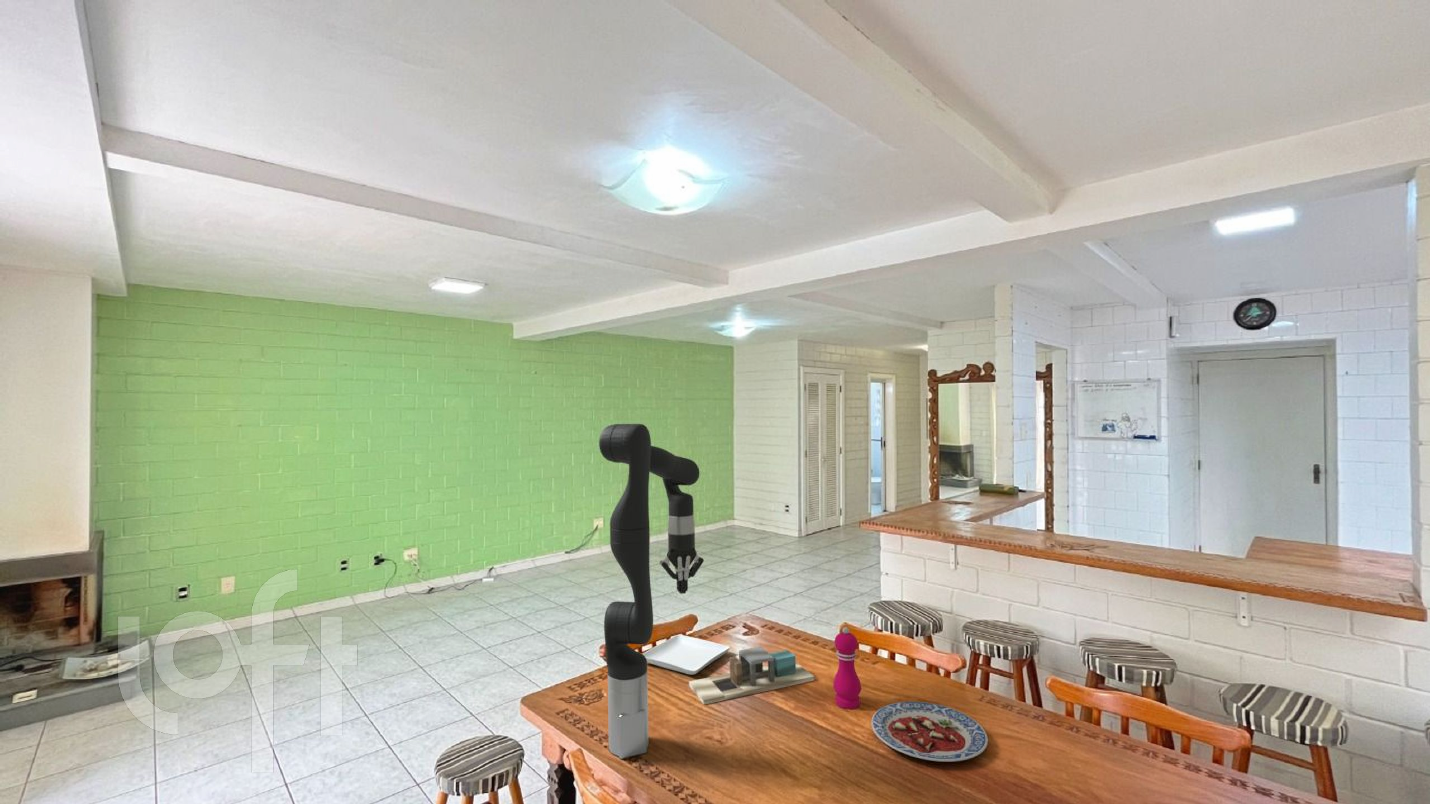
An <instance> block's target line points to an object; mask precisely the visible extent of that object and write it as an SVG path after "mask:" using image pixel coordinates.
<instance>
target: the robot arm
mask: <svg viewBox="0 0 1430 804" xmlns="http://www.w3.org/2000/svg"><path fill="white" fill-rule="evenodd" d="M598 443H599V444H598V447H599V450H600V453H601V455H602V457H603V458H605V460H607V461H608V462H611V463H618V464H626V465H628V477H627V484H626V487H625V489H624V491H623V493H622V495H621V497H620V499H619V500H618V502H617V504H616V506H615V507H614V509H613V511H612V514H611V517H610V521H609V541H610V542H609V543H610V550H611V552H612V554H613V556H614V558H615V561H616V562H617V563H618V565H619V566H620V568H621V570H622V571H623V573H624V575H625V576H626V577H627V579H628V580H627V581H629V583H630V587H631V590H632V594H633V599H634V601H612V602H611V603H610V604H609V605H608V606H607V608H606V610H605V614H604V619H603V620H604V621H603V629H604V630H603V631H604V632H603V633H604V645H605V663H606V667H607V714H608V716H607V720H608V721H607V722H608V723H607V725H608V750H609V752H610V753H611V754H613V755H615V756H616V757H617V756H618V757H619V759H626V758H630V757H633V756H637V755H642V754H645V753H647V750H648V747H649V705H648V703H649V702H648V701H649V699H648V697H649V695H648V692H649V691H648V690H649V688H648V662H647V659H646V657H645V656H644V655H643V653H641V652H639V651H638V650H635V649H633V648H632V647H631V646H629V645H646V644H648V643H649V642H650V640H651V638H652V636H653V630H654V611H653V599H652V588H651V575H650V574H651V573H650V572H651V571H650V544H651V542H650V539H651V537H650V533H651V532H650V511H649V510H650V509H649V508H650V507H649V506H650V505H649V503H650V502H649V501H650V500H649V497H650V496H649V491H650V490H649V488H650V485H649V483H650V473H651V474H653V475H655V476H658V477H659V478H661V479H662V482H663V485H664V488H665V493H666V496H667V501H668V522H667V539H668V545H667V547H668V548H667V549H668V551H667V553H666V557H665V558H664V559H663V560H660V561H659V564H660V566H661V567H662V568H663V569H664V570H665V572H666V573H667V574H668V576H669V577H671V578H672V579H673V580H676V590H677V592H678V593H679V594H681V595H683V594H686V593H687V592H688V589H689V584H688V583H689V579H690V578H693V577H695V575H696V573H697V572H698V570H699V569H700V567H701V566H702V564H703V563H704V561H705V560H704V558H703V557H701V556H699V555H698V554H697V551H696V538H695V537H696V530H695V529H696V528H695V527H696V526H695V525H696V524H695V523H696V522H695V517H694V515H695V514H694V497H693V495H691V494H689V493H686V492H684V491H682V490H681V488H680V487H679V486H692V485H695V483H697V482H698V480H699V478H700V469H699V466H698V464H697V463H696V462H695V461H694V460H692V459H690V458H687V457H683V456H678V455H675V454H673V453H672V452H669V451H668V450H666V449H664V448H661V447H658V446H654V445H652V440H651V434H650V431H649V429H648V428H647V426H646V425H645V424H642V423H617V424H616V423H615V424H611V425H608V426H605V428H604V429H602V430H601V433H600V435H599V440H598ZM670 563H671V564H672V566H673V567H674V570H675V572H674V571H673V569H671V568H670V565H671V564H670ZM692 563H693V564H692Z"/></svg>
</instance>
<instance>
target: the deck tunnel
mask: <svg viewBox="0 0 1430 804" xmlns="http://www.w3.org/2000/svg"><path fill="white" fill-rule="evenodd" d="M738 660H739V661H740V662H741V663H742V676H743V675H748V674H750V679H746V680H742V685H736V684H735V683H734V682H733V681H732V680H731V679H730V672H728V673H724V674H719V675H713V676H710V677H709V676H708V677H705V678H699V679H694V680H689V681H688V687H690V690H692V692H693V693H694V694H695V695H696V697H697V698H698V699H699V700H700V702H701V703H702V704H703V705H709V704H713V703H717V702H718V703H719V702H721V701H727V700H731V699H735V698H741V697H746V696H749V695H753V694H759V693H764V692H767V691H769V692H770V691H772V690H777V689H782V688H786V687H792V686H794V685H800V684H805V683H810V682H814V681H815V676H814V675H813V674H812V673H811V672H809V671H808V670H807V669H805V668H804V667H803V666H802V665H800V664H799V663H798V662H796V673H794V674H789V675H785V676H780V677H777V676H776V675H775V674H774V657H773V656H771V655H770V654H769V652H768V651H767V650H766V649H764V648H762V647H761V646H756V647H752V648H746V649H740V650H738ZM764 663H767V665H764ZM763 671H768V675H765V676H761V677H756V674H755V673H758V672H763Z"/></svg>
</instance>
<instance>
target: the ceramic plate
mask: <svg viewBox="0 0 1430 804" xmlns="http://www.w3.org/2000/svg"><path fill="white" fill-rule="evenodd" d="M871 728H872V730H873V733H874V734H875V736H877V738H878V739H879V740H880V741H882V743H885V744H886V745H887V746H889V747H890V748H892V749H894V750H895V751H897V752H899V753H903V754H905V755H907V756H910V757H912V758H913V757H914V758H918V759H921V760H925V761H933V762H948V763H949V762H950V763H951V762H952V763H953V762H961V761H966V760H970V759H973V758H975V757H977V756H979V755H981V754H982V753H983V752H984V751H985V750H986V748H987V746H988V742H989V739H988V735H987V733H986V731H985V729H984V728H983V727H982V725H981V724H980V723H979V722H977V721H976V720H975V719H973V718H972V717H971V716H968V715H967V714H965V713H963V712H961V711H959V710H957V709H954V708H952V707H948V706H944V705H941V704H936V703H931V702H925V701H901V702H900V701H899V702H896V703H891V704H887V705H885V706H882V707H881V708H879V709H878V710H877V711H875V713H874V714H873V715H872V718H871ZM885 744H884V745H885Z"/></svg>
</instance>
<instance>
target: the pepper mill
mask: <svg viewBox="0 0 1430 804" xmlns="http://www.w3.org/2000/svg"><path fill="white" fill-rule="evenodd" d="M841 631H842V632H839V633H838V634H836V636H835V638H834V647H835V649H836V658H838V668H837V671H836V674H835V676H834V679H833V686H832V687H833V691H834V692H835V693H836V694H835V695H834V696H835V698H834V699H835V704H836V706H837V707H840V708H842V709H846V710H853V709H854V710H855V709H857V708H858V707H859V706H860V704H861V700H860V699H861V698H860V696H859V695H860V694H861V692H862V685H861V681H860V678H859V676H858V673H857V671H856V668H855V660H856V659H857V656H856V655H857V652H856V651H857V648H858V644H859V643H858V639H857V638H856V636H855V634H853V633H852V632H850V628H848V627H846V626H844V627H843V628H842V629H841Z"/></svg>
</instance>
